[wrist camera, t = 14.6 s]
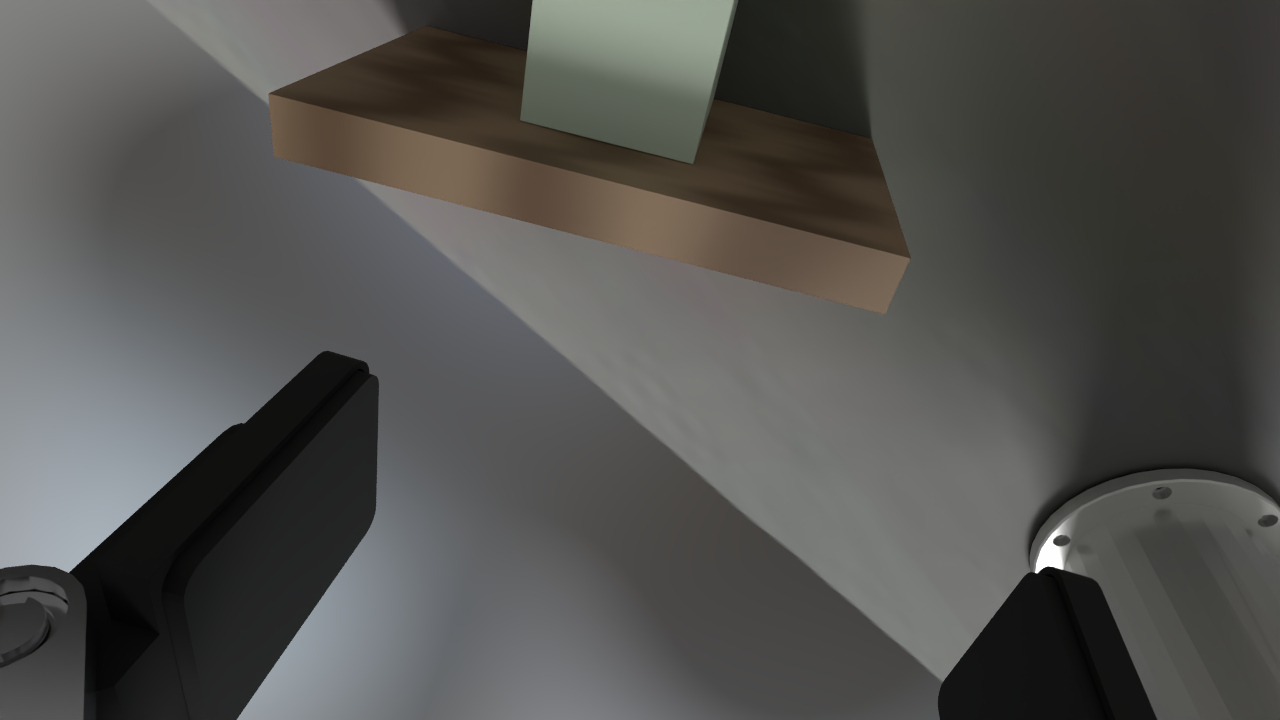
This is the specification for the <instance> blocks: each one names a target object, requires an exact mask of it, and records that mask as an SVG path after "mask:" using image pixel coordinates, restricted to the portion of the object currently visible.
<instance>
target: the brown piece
mask: <svg viewBox="0 0 1280 720" xmlns="http://www.w3.org/2000/svg"><path fill="white" fill-rule="evenodd" d="M526 59H527V51H524V50H520V49H516V48H512V47H508V46H504V45H500V44H496V43H492V42H488V41H484V40H480V39H476V38H472V37H468V36H465V35H461V34H457V33H453V32H449V31H445V30H441V29H437V28H433V27H429V26H425V27H422V28H420V29H418V30H415V31H413V32H411V33H408V34H406V35H404V36H401V37H399V38H397V39H394V40H392V41H390V42H387V43H385V44H383V45H380V46H378V47H376V48H373V49H371V50H369V51H366V52H364V53H362V54H359V55H357V56H355V57H352V58H350V59H348V60H345V61H343V62H341V63H338V64H336V65H334V66H332V67H329V68H327V69H325V70H322V71H320V72H318V73H315V74H313V75H311V76H308V77H306V78H304V79H301V80H299V81H297V82H294V83H292V84H290V85H287V86H285V87H283V88H280V89H278V90H276V91H273V92H271V93H269V106H270V117H271V128H272V139H273V150H274V157H278V158H282V159H286V160H289V161H294V162H297V163H301V164H305V165H309V166H313V167H316V168H321V169H324V170H328V171H332V172H336V173H340V174H344V175H347V176H351V177H355V178H359V179H363V180H367V181H371V182H374V183H378V184H382V185H386V186H390V187H394V188H398V189H401V190H405V191H409V192H413V193H417V194H421V195H425V196H429V197H432V198H436V199H440V200H444V201H448V202H452V203H456V204H459V205H463V206H467V207H471V208H475V209H479V210H483V211H487V212H490V213H494V214H498V215H502V216H506V217H510V218H514V219H517V220H521V221H525V222H529V223H533V224H537V225H541V226H545V227H548V228H552V229H556V230H560V231H564V232H568V233H572V234H575V235H579V236H583V237H587V238H591V239H595V240H599V241H603V242H606V243H610V244H614V245H618V246H622V247H626V248H630V249H633V250H637V251H641V252H645V253H649V254H653V255H657V256H660V257H664V258H668V259H672V260H676V261H680V262H684V263H688V264H691V265H695V266H699V267H703V268H707V269H711V270H715V271H718V272H722V273H726V274H730V275H734V276H738V277H742V278H746V279H749V280H753V281H757V282H761V283H765V284H769V285H773V286H776V287H780V288H784V289H788V290H792V291H796V292H800V293H804V294H807V295H811V296H815V297H819V298H823V299H827V300H831V301H834V302H838V303H842V304H846V305H850V306H854V307H858V308H861V309H865V310H869V311H873V312H877V313H881V314H885V313H886V311H887V309H888V307H889V305H890V302H891V300H892V298H893V296H894V294H895V292H896V289H897V287H898V285H899V283H900V281H901V279H902V276H903V274H904V272H905V270H906V268H907V265H908V263H909V261H910V259H911V258H910V255H909V252H908V248H907V245H906V242H905V239H904V236H903V233H902V230H901V227H900V224H899V221H898V218H897V215H896V211H895V208H894V205H893V202H892V199H891V196H890V193H889V190H888V187H887V184H886V181H885V178H884V175H883V171H882V168H881V165H880V162H879V159H878V156H877V153H876V150H875V147H874V144H873V141H872V139H871V138H867V137H863V136H859V135H855V134H851V133H848V132H844V131H840V130H836V129H832V128H828V127H824V126H820V125H816V124H812V123H808V122H804V121H800V120H796V119H792V118H788V117H784V116H780V115H776V114H772V113H769V112H765V111H761V110H757V109H753V108H749V107H745V106H741V105H737V104H733V103H729V102H725V101H721V100H717V99H713V102H712V106H711V109H710V112H709V115H708V118H707V122H706V125H705V128H704V131H703V134H702V137H701V141H700V144H699V147H698V150H697V153H696V156H695V160H694V163H693V164H690V163H686V162H682V161H678V160H674V159H670V158H666V157H662V156H658V155H654V154H650V153H646V152H642V151H638V150H635V149H631V148H627V147H623V146H619V145H615V144H611V143H607V142H603V141H599V140H595V139H591V138H587V137H583V136H580V135H576V134H572V133H568V132H564V131H560V130H556V129H552V128H548V127H544V126H540V125H536V124H532V123H528V122H525V121H521V120H520V116H521V107H522V97H523V88H524V78H525V69H526Z"/></svg>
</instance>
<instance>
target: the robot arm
mask: <svg viewBox="0 0 1280 720" xmlns="http://www.w3.org/2000/svg"><path fill="white" fill-rule="evenodd" d="M378 396H379V382H378V378H377V377H376V376H374V375H371V374H369V367H368V365H367V363H365V362H364V361H361V360H357V359H354V358H351V357H347V356H344V355H340V354H337V353H334V352H330V351H324V352H322V353H320V354H319V355H318V356H317V357H316V358H314V359H313V360H312V361H311V362H310V363H309V364H308V365H307V366H306V367H305V368H304V369H303V370H302V371H301V372H299V373H298V374H297V375H296V376H295V377H294V378H293V379H292V380H291V381H290V382H289V383H288V384H287V385H285V386H284V387H283V388H282V389H281V390H280V391H279V392H278V393H277V394H276V395H275V396H274V397H273V398H272V399H271V400H269V401H268V402H267V403H266V404H265V405H264V406H263V407H262V408H261V409H260V410H259V411H258V412H256V413H255V414H254V415H253V416H252V417H251V418H250V419H249V420H248V421H247V422H246V423H245V424H242V423H240V424H237V425H233V426H231V427H230V428H229V429H227V430H226V431H224V432H223V433H222V434H221V435H220V436H218V437H217V438H216V439H215V440H214V441H213V442H212V443H211V444H210V445H209V446H208V447H207V448H205V449H204V450H203V451H202V452H201V453H200V454H199V455H198V456H197V457H196V458H194V460H192V461H191V462H190V463H189V464H188V465H187V466H186V467H184V468H183V469H182V470H181V471H180V472H179V473H178V474H177V475H176V476H175V477H173V478H172V479H171V480H170V481H169V482H168V483H167V484H166V485H165V486H164V487H163V488H161V489H160V491H158V492H157V493H156V494H155V495H154V496H153V497H152V498H151V499H150V500H148V501H147V502H146V503H145V504H144V505H143V506H142V507H141V508H139V509H138V510H137V511H136V512H135V513H134V514H133V515H132V516H131V517H130V518H129V519H127V520H126V521H125V522H124V523H123V524H122V525H121V526H120V527H119V528H118V529H117V530H115V531H114V532H113V533H112V534H111V535H110V536H109V537H108V538H107V539H106V540H104V541H103V542H102V543H101V544H100V545H99V546H98V547H97V548H96V549H95V550H94V551H92V552H91V553H90V554H89V555H88V556H87V557H86V558H85V559H84V560H82V561H81V562H80V563H79V564H78V565H77V566H76V567H75V568H74V569H72V571H70V572H69V573H67V572H65V571H63V570H60V569H58V568H56V567H49V566H39V565H24V566H15V567H6V568H3V569H0V720H237V718H238V717H239V715H240V714H241V712H242V711H243V709H244V708H245V707H246V705H247V704H248V702H249V701H250V699H251V698H252V696H253V695H254V693H255V692H256V691H257V689H258V688H259V686H260V685H261V684H262V682H263V681H264V679H265V678H266V676H267V675H268V674H269V672H270V671H271V669H272V668H273V666H274V665H275V663H276V662H277V661H278V659H279V658H280V656H281V655H282V653H283V652H284V651H285V649H286V648H287V646H288V645H289V643H290V642H291V641H292V639H293V638H294V636H295V635H296V633H297V632H298V630H299V629H300V628H301V626H302V625H303V623H304V622H305V620H306V619H307V618H308V616H309V615H310V613H311V612H312V610H313V609H314V607H315V606H316V605H317V603H318V602H319V600H320V599H321V597H322V596H323V595H324V593H325V592H326V590H327V589H328V587H329V586H330V585H331V583H332V581H333V580H334V579H335V577H336V576H337V575H338V573H339V572H340V570H341V569H342V567H343V566H344V564H345V563H346V562H347V560H348V559H349V557H350V556H351V554H352V553H353V552H354V550H355V549H356V547H357V546H358V544H359V543H360V542H361V540H362V539H363V537H364V536H365V534H366V533H367V531H368V529H369V528H370V525H371V523H372V521H373V518H374V515H375V510H376V483H377V439H378ZM1029 560H1030V571H1031V572H1030V573H1028V574H1026V575H1025V576H1024V577H1023V579H1022V580H1021V581H1020V583H1019V584H1018V585H1017V586H1016V588H1015V589H1014V590H1013V592H1012V593H1011V594H1010V596H1009V597H1008V598H1007V599H1006V601H1005V602H1004V603H1003V605H1002V606H1001V607H1000V609H999V610H998V611H997V612H996V614H995V615H994V616H993V618H992V619H991V620H990V622H989V623H988V624H987V625H986V627H985V628H984V629H983V631H982V632H981V633H980V635H979V636H978V637H977V638H976V640H975V641H974V642H973V644H972V645H971V646H970V648H969V649H968V650H967V651H966V653H965V654H964V655H963V657H962V658H961V659H960V661H959V662H958V663H957V664H956V666H955V667H954V668H953V670H952V671H951V672H950V674H949V675H948V676H947V677H946V679H945V680H944V682H943V683H942V685H941V688H940V692H939V696H938V710H939V716H940V720H1280V507H1279V506H1278V505H1277V503H1276V502H1275V501H1274V500H1273V498H1271V497H1270V496H1269V495H1267V494H1266V493H1265V492H1263V491H1262V490H1261V489H1259V488H1258V487H1257V486H1255V485H1253V484H1250V483H1248V482H1246V481H1244V480H1242V479H1239V478H1237V477H1234V476H1230V475H1226V474H1222V473H1218V472H1215V471H1207V470H1197V469H1160V470H1153V471H1146V472H1140V473H1134V474H1130V475H1127V476H1123V477H1120V478H1116V479H1112V480H1109V481H1107V482H1105V483H1102V484H1100V485H1097V486H1095V487H1093V488H1090V489H1088V490H1086V491H1084V492H1083V493H1081V494H1079V495H1078V496H1076V497H1074V498H1073V499H1071V500H1069V501H1068V502H1066V503H1065V504H1064V505H1063V506H1062V507H1060V508H1059V509H1058V510H1057V511H1055V512H1054V513H1053V514H1052V515H1051V516H1050V517H1049V518H1048V520H1047V521H1046V522H1045V523H1044V524H1043V526H1042V527H1041V528H1040V530H1039V532H1038V533H1037V535H1036V537H1035V539H1034V541H1033V543H1032V548H1031V553H1030V557H1029Z"/></svg>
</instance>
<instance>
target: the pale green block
mask: <svg viewBox="0 0 1280 720" xmlns="http://www.w3.org/2000/svg"><path fill="white" fill-rule="evenodd" d="M738 1H739V0H533V2H532V12H531V21H530V31H529V40H528V50H527V59H526V69H525V78H524V88H523V97H522V107H521V116H520V120H521V121H525V122H528V123H532V124H536V125H540V126H544V127H548V128H552V129H556V130H560V131H564V132H568V133H572V134H576V135H580V136H583V137H587V138H591V139H595V140H599V141H603V142H607V143H611V144H615V145H619V146H623V147H627V148H631V149H635V150H638V151H642V152H646V153H650V154H654V155H658V156H662V157H666V158H670V159H674V160H678V161H682V162H686V163H690V164H693V163H694V160H695V156H696V153H697V150H698V147H699V144H700V141H701V137H702V134H703V131H704V128H705V125H706V122H707V118H708V115H709V112H710V109H711V106H712V102H713V99H714V96H715V92H716V88H717V84H718V80H719V76H720V72H721V68H722V64H723V60H724V56H725V52H726V48H727V44H728V40H729V36H730V32H731V28H732V24H733V20H734V16H735V12H736V8H737V4H738Z"/></svg>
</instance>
